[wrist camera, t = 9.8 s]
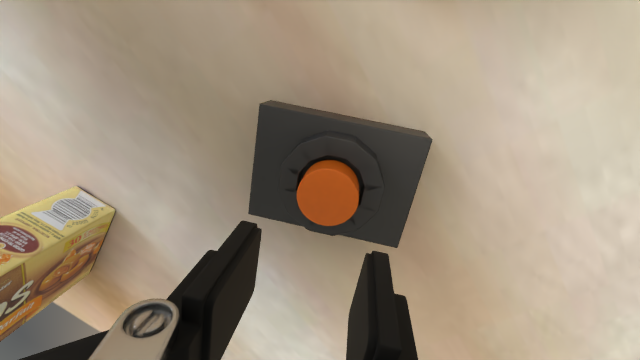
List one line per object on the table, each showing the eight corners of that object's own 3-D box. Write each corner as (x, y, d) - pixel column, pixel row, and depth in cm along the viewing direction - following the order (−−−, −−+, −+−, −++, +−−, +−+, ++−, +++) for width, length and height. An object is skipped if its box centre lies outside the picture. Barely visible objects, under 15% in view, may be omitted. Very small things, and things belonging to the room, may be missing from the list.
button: (298, 205, 20) (292, 219, 18) (307, 153, 18) (301, 162, 17) (352, 217, 19) (351, 232, 18) (365, 166, 18) (365, 176, 16)
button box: (258, 200, 24) (239, 224, 20) (270, 100, 21) (250, 106, 17) (394, 231, 23) (400, 261, 20) (425, 131, 21) (439, 145, 17)
